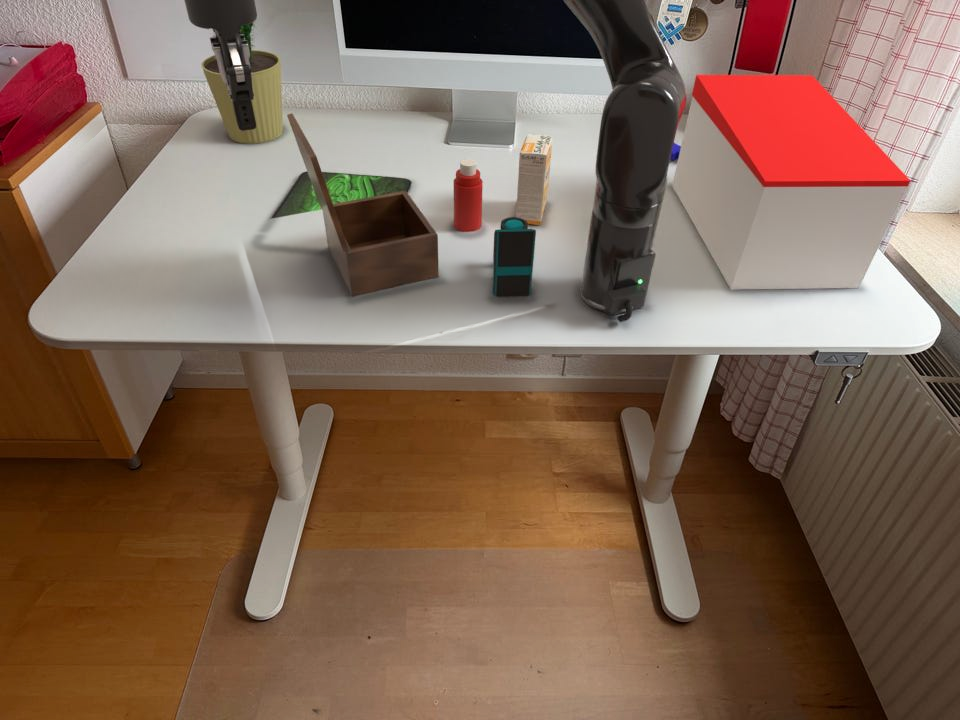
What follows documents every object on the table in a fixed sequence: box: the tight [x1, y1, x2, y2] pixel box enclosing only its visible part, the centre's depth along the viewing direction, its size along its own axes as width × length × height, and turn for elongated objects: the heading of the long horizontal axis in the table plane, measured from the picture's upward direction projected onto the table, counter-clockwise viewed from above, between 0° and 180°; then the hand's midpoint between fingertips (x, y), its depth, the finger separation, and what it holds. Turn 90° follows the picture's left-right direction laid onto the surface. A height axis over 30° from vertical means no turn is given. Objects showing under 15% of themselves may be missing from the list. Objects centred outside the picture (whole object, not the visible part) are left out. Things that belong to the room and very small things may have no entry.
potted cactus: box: [201, 20, 284, 145], centre depth 135 cm, size 15×15×30 cm
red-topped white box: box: [671, 74, 911, 291], centre depth 111 cm, size 21×35×21 cm, turn 3°
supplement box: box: [515, 133, 554, 226], centre depth 117 cm, size 8×5×13 cm, turn 168°
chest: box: [322, 191, 440, 298], centre depth 105 cm, size 14×15×8 cm
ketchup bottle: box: [453, 158, 484, 233], centre depth 112 cm, size 5×5×12 cm
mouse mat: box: [270, 170, 413, 219], centre depth 120 cm, size 27×22×1 cm
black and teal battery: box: [492, 216, 537, 298], centre depth 101 cm, size 6×12×10 cm
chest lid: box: [286, 113, 348, 251], centre depth 94 cm, size 15×15×1 cm
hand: (247, 127), depth 86 cm, fingers closed
